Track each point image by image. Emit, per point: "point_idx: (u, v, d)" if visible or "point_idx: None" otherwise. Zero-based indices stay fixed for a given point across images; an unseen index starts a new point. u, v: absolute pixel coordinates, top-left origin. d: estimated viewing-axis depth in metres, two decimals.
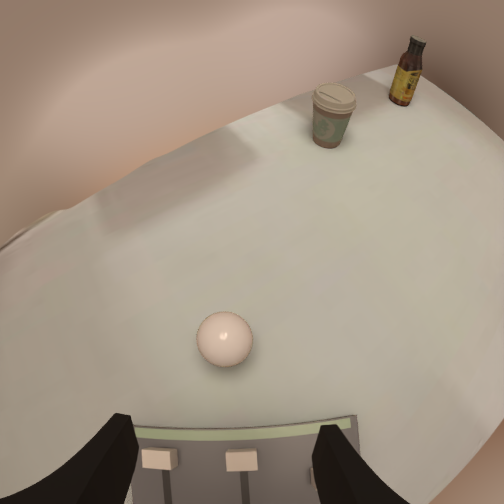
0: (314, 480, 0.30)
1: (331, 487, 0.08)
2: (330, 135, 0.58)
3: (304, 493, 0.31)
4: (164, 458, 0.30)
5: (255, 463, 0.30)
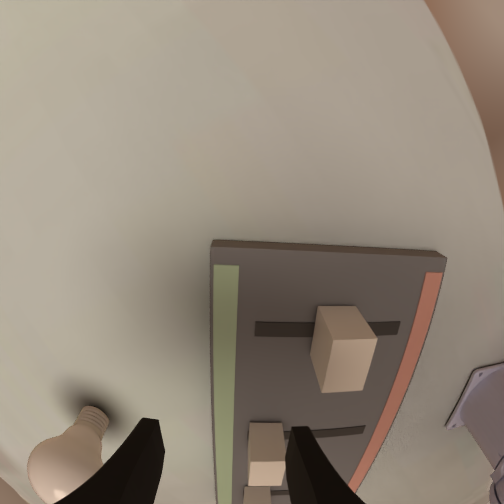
0: None
1: (299, 490, 0.08)
2: None
3: None
4: None
5: (273, 463, 0.18)
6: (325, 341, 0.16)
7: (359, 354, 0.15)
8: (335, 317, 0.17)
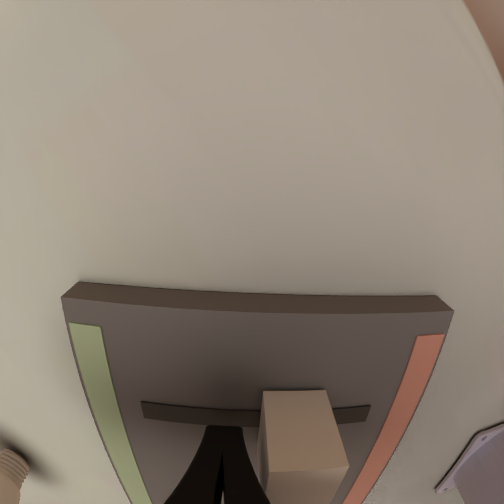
0: None
1: None
2: None
3: None
4: None
5: None
6: (265, 457, 0.09)
7: (317, 484, 0.08)
8: (286, 418, 0.10)
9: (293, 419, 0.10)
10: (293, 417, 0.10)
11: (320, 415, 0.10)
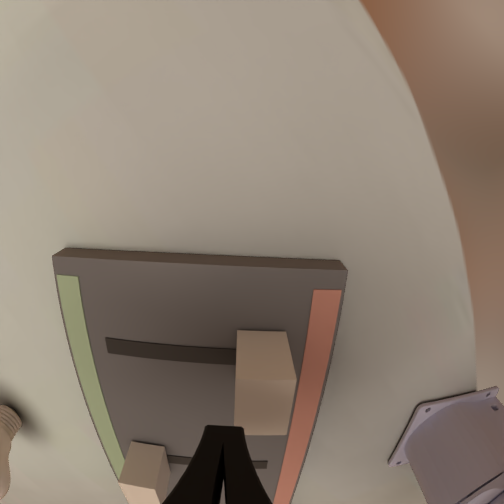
0: None
1: (225, 491, 0.08)
2: None
3: None
4: None
5: (141, 488, 0.15)
6: None
7: (274, 396, 0.12)
8: (252, 347, 0.14)
9: (257, 348, 0.14)
10: (257, 346, 0.14)
11: (279, 346, 0.14)
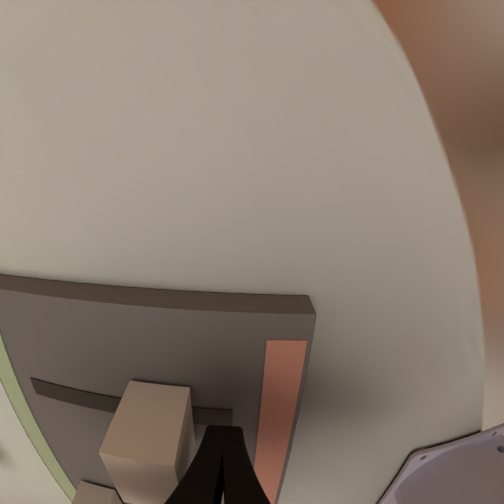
0: None
1: (224, 491, 0.08)
2: None
3: None
4: None
5: None
6: None
7: (152, 477, 0.08)
8: (137, 407, 0.10)
9: (143, 410, 0.10)
10: (144, 408, 0.10)
11: (171, 411, 0.10)
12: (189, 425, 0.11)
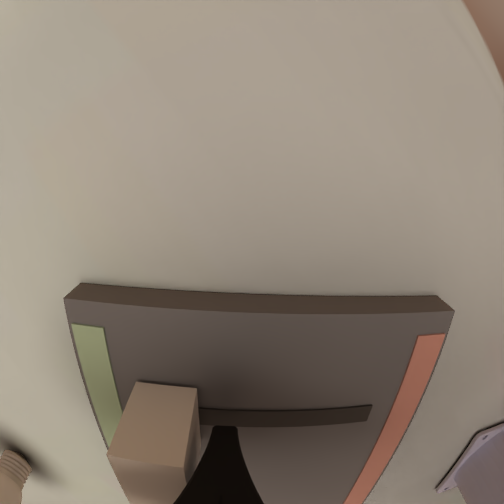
0: None
1: None
2: None
3: (308, 452, 0.13)
4: None
5: None
6: None
7: (160, 479, 0.08)
8: (144, 409, 0.10)
9: (150, 411, 0.10)
10: (151, 409, 0.10)
11: (178, 412, 0.10)
12: (196, 426, 0.11)
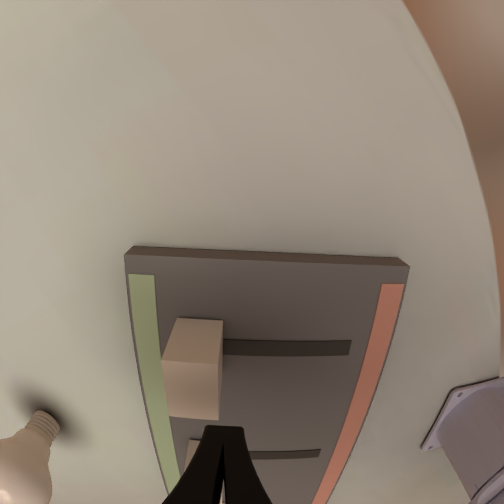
0: None
1: (225, 491, 0.08)
2: None
3: (304, 383, 0.18)
4: None
5: None
6: None
7: (199, 380, 0.13)
8: (186, 333, 0.15)
9: (190, 334, 0.15)
10: (191, 333, 0.15)
11: (211, 334, 0.15)
12: (221, 350, 0.16)
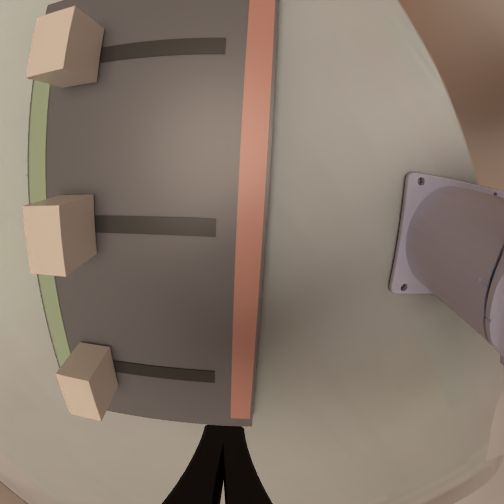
0: (54, 76, 0.12)
1: (225, 491, 0.08)
2: None
3: (178, 91, 0.15)
4: (70, 384, 0.16)
5: (45, 209, 0.13)
6: None
7: (58, 25, 0.10)
8: None
9: None
10: None
11: None
12: (95, 44, 0.13)
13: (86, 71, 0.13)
